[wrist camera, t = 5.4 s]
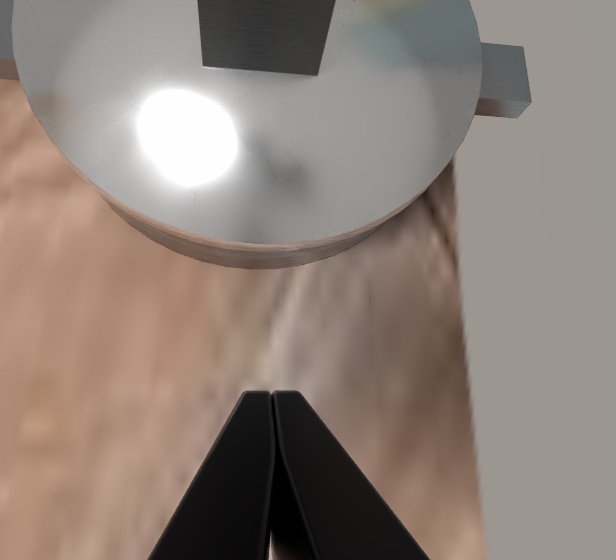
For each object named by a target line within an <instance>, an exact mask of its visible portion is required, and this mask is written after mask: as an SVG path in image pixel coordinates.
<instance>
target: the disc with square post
mask: <svg viewBox="0 0 616 560" xmlns="http://www.w3.org/2000/svg"><path fill="white" fill-rule="evenodd" d="M12 39H13V53H14V58H15V62H16V66H17V70H18V74H19V78H20V82H21V85H22V87H23V90H24V92H25V94H26V97H27V99H28V101H29V104H30V106H31V108H32V110H33V112H34V114H35V115H36V117H37V118H38V120H39V122H40V123H41V125H42V126H43V128H44V130H45V131H46V133H47V135H48V136H49V138H50V139H51V141H52V143H53V144H54V146H55V147H56V149H57V151H58V152H59V153H60V154H61V155H62V157H63V158H64V159H65V160H66V161H67V163H68V164H69V165H70V166H71V167H72V168H73V170H74V171H75V172H76V173H77V174H78V175H79V176H80V177H81V178H82V179H83V180H84V181H85V182H86V183H88V184H89V185H90V186H91V187H92V188H93V189H94V190H95V191H97V192H98V193H99V194H100V195H101V196H102V197H104V198H105V199H107V200H108V201H110V202H111V203H113V204H114V205H115V206H117V207H118V208H120V209H121V210H123V211H124V212H126V213H127V214H129V215H131V216H133V217H135V218H137V219H139V220H141V221H143V222H145V223H147V224H148V225H150V226H152V227H154V228H156V229H158V230H161V231H164V232H167V233H169V234H172V235H175V236H178V237H181V238H183V239H186V240H189V241H193V242H197V243H201V244H206V245H210V246H215V247H219V248H224V249H234V250H245V251H255V252H264V251H292V250H298V249H305V248H312V247H318V246H323V245H326V244H330V243H333V242H337V241H340V240H344V239H347V238H351V237H353V236H355V235H357V234H360V233H362V232H364V231H367V230H369V229H371V228H373V227H376V226H378V225H379V224H381V223H383V222H384V221H386V220H388V219H389V218H391V217H392V216H394V215H396V214H397V213H399V212H401V211H402V210H403V209H404V208H406V207H407V206H408V205H409V204H410V203H412V202H413V201H414V200H415V199H416V198H418V197H419V196H420V195H421V194H422V193H423V192H424V191H425V190H426V189H427V188H428V187H429V185H430V184H431V183H432V182H433V181H434V180H435V179H436V178H437V176H438V175H439V174H440V173H441V172H442V170H443V169H444V168H445V167H446V166H447V164H448V163H449V162H450V160H451V159H452V157H453V156H454V154H455V152H456V151H457V149H458V148H459V146H460V145H461V143H462V142H463V140H464V138H465V136H466V133H467V131H468V129H469V126H470V124H471V122H472V119H473V117H474V114H475V110H476V106H477V102H478V98H479V94H480V87H481V77H482V54H481V42H480V38H479V33H478V27H477V22H476V19H475V16H474V13H473V11H472V7H471V5H470V2H469V0H14V7H13V17H12Z"/></svg>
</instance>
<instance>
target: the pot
mask: <svg viewBox="0 0 616 560" xmlns="http://www.w3.org/2000/svg"><path fill="white" fill-rule="evenodd" d="M13 7H14V0H0V79H11V80H20V78H19V74H18V70H17V66H16V62H15V58H14V53H13V39H12V17H13ZM481 54H482V77H481V87H480V94H479V98H478V102H477V106H476V110H475V114H474V115H482V116H496V117H509V118H518V117H519V115H520V114H521V113H522V112H523V111H524V110H525V109H526V108H527V106H528V105H529V104H530V103H531V95H530V89H529V82H528V76H527V69H526V62H525V56H524V50H523V47H521V46H511V45H500V44H489V43H481ZM103 199H104V200H105V201H106V202H107V203H108V205H109V206H110V207H111V208H112V209H113V210H114V211H115V212H116V213H117V214H118V215H120V216H121V217H122V218H123V219H124V220H125V221H126V222H127V223H128V224H130V225H131V226H132V227H134V228H135V229H136V230H138V231H139V232H141V233H142V234H144V235H145V236H147V237H148V238H150V239H151V240H153V241H155V242H157V243H159V244H161V245H163V246H165V247H167V248H169V249H171V250H172V251H174V252H177V253H179V254H182V255H185V256H188V257H191V258H194V259H196V260H199V261H203V262H207V263H212V264H216V265H221V266H225V267H234V268H244V269H278V268H285V267H291V266H298V265H304V264H307V263H311V262H314V261H317V260H321V259H324V258H327V257H330V256H332V255H334V254H337V253H339V252H341V251H343V250H346V249H348V248H350V247H351V246H353V245H355V244H356V243H358V242H359V241H361V240H363V239H364V238H366V237H367V236H369V235H370V234H371V233H373V232H374V231H375V230H376V229H377V228H379V227H380V226H381V225H382V224H383V223H385V222H386V221H387V220H386V221H384V222H383V223H381V224H379V225H378V226H376V227H373V228H371V229H369V230H367V231H364V232H362V233H360V234H357V235H355V236H353V237H351V238H347V239H344V240H340V241H337V242H333V243H330V244H326V245H323V246H318V247H312V248H305V249H298V250H292V251H264V252H255V251H245V250H234V249H224V248H219V247H215V246H210V245H206V244H201V243H197V242H193V241H189V240H186V239H183V238H181V237H178V236H175V235H172V234H169V233H167V232H164V231H161V230H158V229H156V228H154V227H152V226H150V225H148V224H147V223H145V222H143V221H141V220H139V219H137V218H135V217H133V216H131V215H129V214H127V213H126V212H124V211H123V210H121V209H120V208H118V207H117V206H115V205H114V204H113V203H111V202H110V201H108V200H107V199H105V198H104V197H103Z"/></svg>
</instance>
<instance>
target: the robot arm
mask: <svg viewBox="0 0 616 560" xmlns="http://www.w3.org/2000/svg"><path fill="white" fill-rule="evenodd" d="M270 536H271V549H272V558H273V560H430V559H429V558H428V556H427V555H426V554H425V552H424V551H423V550H422V549H421V547H420V546H419V545H418V543H417V542H416V541H415V539H414V538H413V537H412V536H411V534H410V533H409V532H408V530H407V529H406V528H405V527H404V525H403V524H402V523H401V521H400V520H399V519H398V518H397V516H396V515H395V514H394V512H393V511H392V510H391V509H390V507H389V506H388V505H387V503H386V502H385V501H384V500H383V498H382V497H381V496H380V494H379V493H378V492H377V491H376V489H375V488H374V487H373V485H372V484H371V483H370V482H369V480H368V479H367V478H366V476H365V475H364V474H363V473H362V471H361V470H360V469H359V467H358V466H357V465H356V464H355V462H354V461H353V460H352V458H351V457H350V456H349V455H348V453H347V452H346V451H345V449H344V448H343V447H342V446H341V444H340V443H339V442H338V440H337V439H336V438H335V437H334V435H333V434H332V433H331V431H330V430H329V429H328V428H327V426H326V425H325V424H324V422H323V421H322V420H321V419H320V417H319V416H318V415H317V413H316V412H315V411H314V410H313V408H312V407H311V406H310V404H309V403H308V402H307V401H306V399H305V398H304V397H303V395H302V394H301V393H300V392H298V391H274V392H273V393H272V395H271V393H270V392H269V391H245V392H243V393H242V395H241V396H240V398H239V400H238V402H237V403H236V405H235V407H234V409H233V410H232V412H231V414H230V416H229V417H228V419H227V421H226V423H225V424H224V426H223V428H222V430H221V431H220V433H219V435H218V437H217V438H216V440H215V442H214V444H213V445H212V447H211V449H210V451H209V452H208V454H207V456H206V458H205V459H204V461H203V463H202V465H201V466H200V468H199V470H198V472H197V474H196V475H195V477H194V479H193V481H192V482H191V484H190V486H189V488H188V489H187V491H186V493H185V495H184V496H183V498H182V500H181V502H180V503H179V505H178V507H177V509H176V510H175V512H174V514H173V516H172V517H171V519H170V521H169V523H168V524H167V526H166V528H165V530H164V531H163V533H162V535H161V537H160V538H159V540H158V542H157V544H156V545H155V547H154V549H153V551H152V552H151V554H150V556H149V558H148V559H147V560H268V559H269V547H270Z"/></svg>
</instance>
